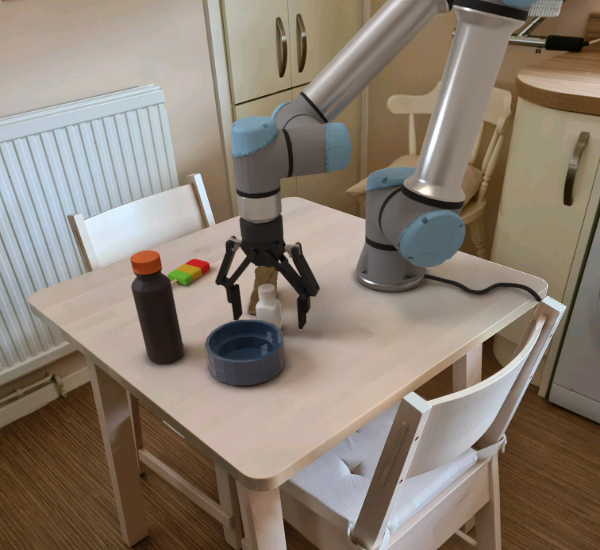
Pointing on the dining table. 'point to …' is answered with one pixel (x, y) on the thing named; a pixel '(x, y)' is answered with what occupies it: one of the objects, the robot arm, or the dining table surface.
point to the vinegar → (156, 308)
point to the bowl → (245, 352)
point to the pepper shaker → (268, 305)
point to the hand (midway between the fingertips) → (269, 321)
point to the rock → (262, 277)
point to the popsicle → (189, 272)
